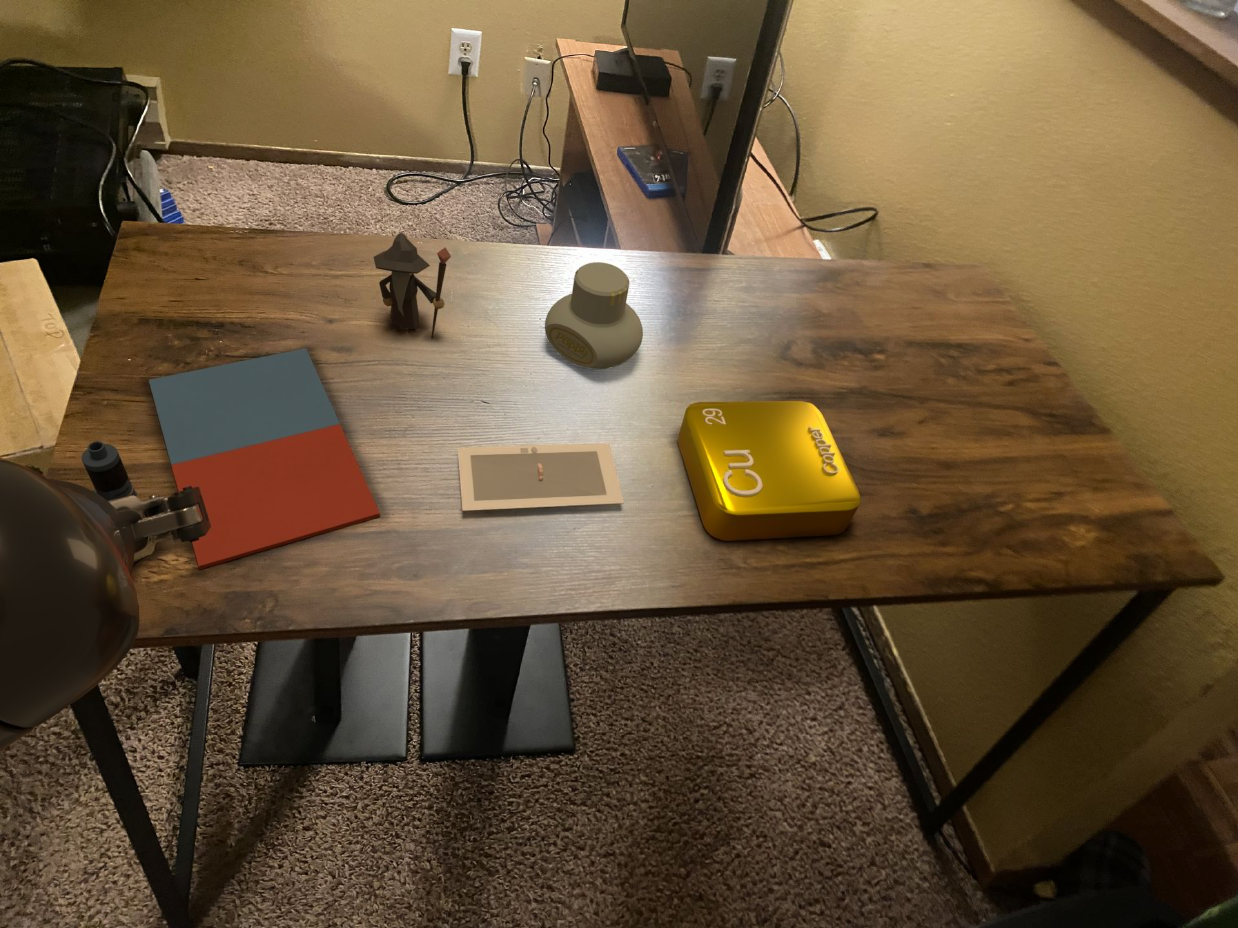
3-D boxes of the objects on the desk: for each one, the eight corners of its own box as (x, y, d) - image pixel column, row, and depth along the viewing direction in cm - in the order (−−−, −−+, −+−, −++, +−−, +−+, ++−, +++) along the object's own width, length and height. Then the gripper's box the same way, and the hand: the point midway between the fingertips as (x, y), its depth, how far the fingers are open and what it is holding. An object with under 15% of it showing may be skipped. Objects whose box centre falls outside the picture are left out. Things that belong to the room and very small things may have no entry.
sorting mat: (199, 569, 68) (198, 566, 68) (149, 383, 81) (148, 379, 81) (380, 516, 75) (379, 513, 74) (306, 351, 88) (306, 347, 87)
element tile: (852, 536, 82) (870, 504, 78) (707, 543, 78) (719, 511, 75) (803, 427, 91) (817, 395, 88) (672, 430, 88) (682, 397, 85)
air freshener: (649, 356, 96) (666, 284, 89) (607, 390, 91) (621, 317, 83) (575, 313, 99) (585, 240, 92) (530, 343, 94) (537, 269, 87)
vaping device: (163, 544, 69) (123, 445, 61) (105, 585, 66) (53, 486, 57) (143, 529, 70) (100, 428, 62) (84, 569, 67) (30, 468, 58)
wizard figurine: (372, 337, 91) (365, 242, 82) (383, 306, 95) (377, 212, 86) (449, 347, 92) (449, 253, 83) (456, 316, 95) (457, 223, 87)
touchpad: (622, 510, 79) (625, 495, 78) (462, 518, 76) (462, 502, 74) (607, 450, 85) (610, 435, 83) (457, 455, 81) (457, 439, 80)
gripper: (180, 441, 38) (187, 444, 52) (-226, 536, 32) (-91, 510, 46) (228, 596, 39) (222, 558, 53) (-157, 717, 33) (-45, 637, 47)
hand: (77, 536), depth 50 cm, fingers open, 8 cm apart
